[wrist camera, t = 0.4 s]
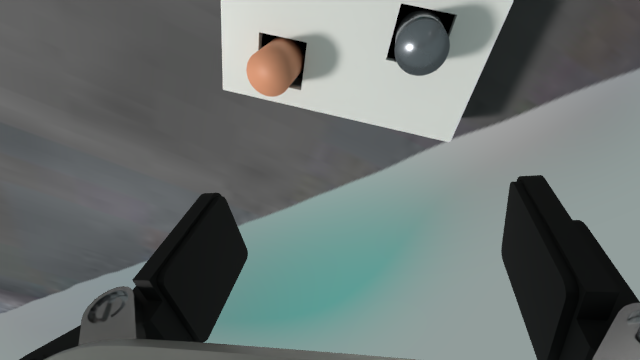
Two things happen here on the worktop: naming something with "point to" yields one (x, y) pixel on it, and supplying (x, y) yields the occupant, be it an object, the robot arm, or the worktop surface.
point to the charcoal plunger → (421, 43)
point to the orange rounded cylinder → (275, 66)
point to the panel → (364, 58)
